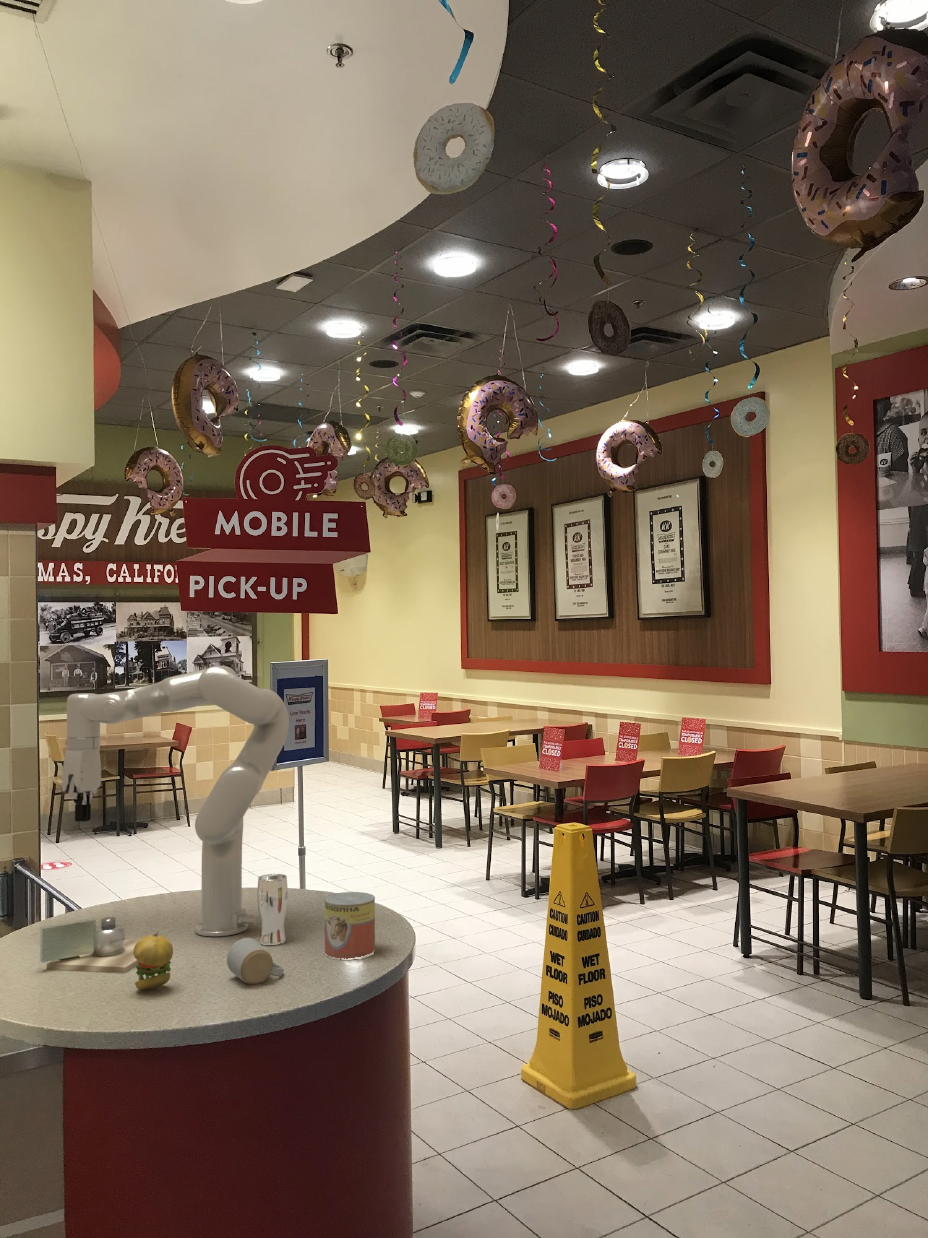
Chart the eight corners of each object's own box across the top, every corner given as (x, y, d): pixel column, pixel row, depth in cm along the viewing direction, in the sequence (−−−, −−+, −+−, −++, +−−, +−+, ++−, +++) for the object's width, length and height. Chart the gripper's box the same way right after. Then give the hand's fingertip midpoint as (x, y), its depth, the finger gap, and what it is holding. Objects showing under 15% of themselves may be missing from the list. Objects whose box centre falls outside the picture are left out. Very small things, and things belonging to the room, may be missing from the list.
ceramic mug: (240, 989, 188) (241, 950, 189) (225, 978, 195) (226, 940, 196) (290, 980, 194) (290, 941, 195) (274, 969, 201) (274, 932, 202)
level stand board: (165, 947, 217) (165, 940, 217) (125, 973, 199) (125, 966, 199) (92, 944, 220) (92, 937, 220) (46, 969, 202) (46, 962, 202)
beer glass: (280, 947, 216) (280, 881, 216) (252, 946, 217) (252, 879, 218) (292, 938, 223) (292, 874, 223) (264, 937, 224) (264, 873, 225)
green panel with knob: (118, 944, 214) (119, 910, 215) (129, 951, 209) (129, 917, 209) (36, 960, 203) (36, 924, 204) (45, 968, 198) (45, 932, 198)
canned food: (314, 956, 209) (314, 901, 210) (342, 942, 219) (342, 890, 220) (358, 963, 204) (357, 906, 205) (384, 948, 214) (384, 895, 215)
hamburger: (162, 981, 194) (163, 922, 194) (180, 990, 188) (180, 929, 189) (126, 991, 188) (126, 929, 189) (143, 1000, 183) (143, 937, 184)
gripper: (86, 741, 238) (85, 815, 237) (50, 747, 223) (50, 826, 222) (114, 741, 236) (113, 816, 236) (80, 747, 222) (79, 826, 221)
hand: (82, 820), depth 229 cm, fingers closed
